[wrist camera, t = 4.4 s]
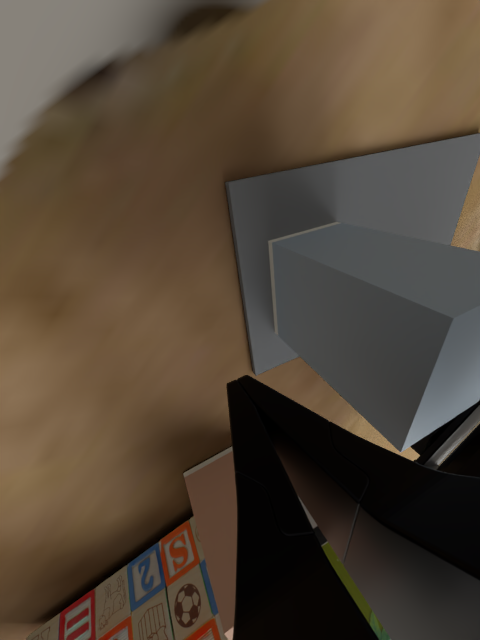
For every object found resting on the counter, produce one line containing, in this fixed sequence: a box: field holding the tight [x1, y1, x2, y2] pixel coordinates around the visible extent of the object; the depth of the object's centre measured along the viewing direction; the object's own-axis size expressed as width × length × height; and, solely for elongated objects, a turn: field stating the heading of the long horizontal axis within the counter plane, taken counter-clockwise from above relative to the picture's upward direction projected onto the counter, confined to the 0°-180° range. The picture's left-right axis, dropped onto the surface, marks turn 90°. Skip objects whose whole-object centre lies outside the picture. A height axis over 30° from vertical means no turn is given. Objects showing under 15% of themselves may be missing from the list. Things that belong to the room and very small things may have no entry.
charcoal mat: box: [225, 133, 480, 375], centre depth 17 cm, size 18×12×1 cm, turn 99°
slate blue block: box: [268, 222, 480, 452], centre depth 12 cm, size 4×6×9 cm
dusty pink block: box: [183, 447, 237, 640], centre depth 18 cm, size 4×6×9 cm
